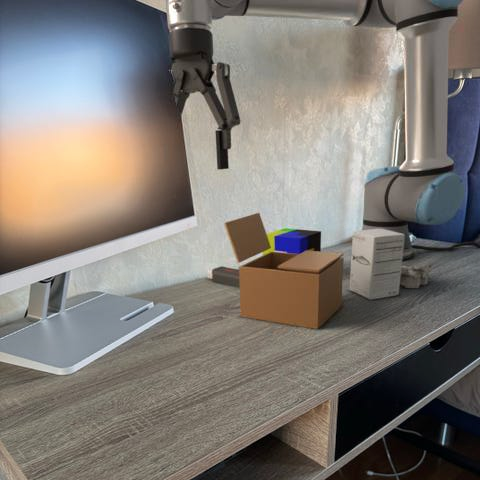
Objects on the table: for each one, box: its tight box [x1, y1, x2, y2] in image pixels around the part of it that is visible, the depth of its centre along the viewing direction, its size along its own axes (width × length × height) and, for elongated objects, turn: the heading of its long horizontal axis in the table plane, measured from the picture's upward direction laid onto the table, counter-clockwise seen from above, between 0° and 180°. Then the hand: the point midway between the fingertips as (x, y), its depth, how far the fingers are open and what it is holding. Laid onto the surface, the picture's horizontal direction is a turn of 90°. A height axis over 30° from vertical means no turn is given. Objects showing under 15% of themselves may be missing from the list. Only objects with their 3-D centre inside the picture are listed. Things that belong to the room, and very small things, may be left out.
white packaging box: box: [349, 229, 405, 301], centre depth 90 cm, size 7×7×13 cm
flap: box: [223, 212, 271, 264], centre depth 83 cm, size 7×13×1 cm
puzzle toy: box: [262, 227, 322, 256], centre depth 106 cm, size 10×10×10 cm
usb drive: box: [206, 265, 240, 289], centre depth 104 cm, size 5×12×3 cm, turn 49°
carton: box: [238, 251, 345, 330], centre depth 82 cm, size 15×13×10 cm
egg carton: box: [399, 264, 432, 289], centre depth 98 cm, size 11×8×4 cm
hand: (199, 169), depth 84 cm, fingers open, 10 cm apart
